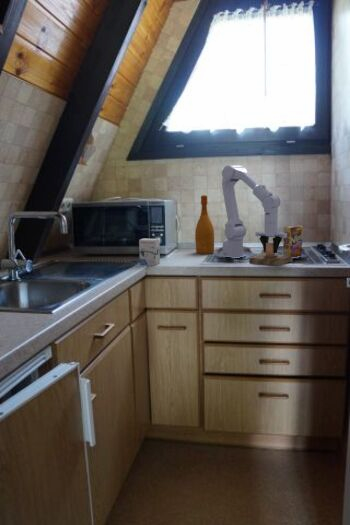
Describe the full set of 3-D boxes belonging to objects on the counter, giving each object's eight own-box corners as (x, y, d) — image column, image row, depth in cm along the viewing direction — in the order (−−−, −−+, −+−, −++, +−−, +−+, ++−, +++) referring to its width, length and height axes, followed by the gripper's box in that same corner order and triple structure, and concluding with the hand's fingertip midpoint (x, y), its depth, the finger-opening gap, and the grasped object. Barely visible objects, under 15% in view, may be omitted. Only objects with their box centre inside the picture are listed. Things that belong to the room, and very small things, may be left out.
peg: (263, 258, 194) (264, 243, 193) (268, 257, 197) (269, 242, 195) (271, 259, 191) (271, 244, 190) (276, 258, 194) (276, 242, 193)
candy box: (289, 260, 197) (290, 227, 194) (282, 259, 201) (282, 226, 198) (302, 257, 202) (303, 225, 199) (295, 256, 206) (295, 225, 203)
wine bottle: (217, 252, 225) (217, 194, 219) (208, 255, 217) (208, 195, 211) (201, 250, 230) (200, 194, 224) (192, 253, 222) (190, 195, 216)
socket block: (249, 263, 193) (249, 257, 193) (263, 258, 204) (263, 253, 204) (278, 266, 185) (278, 260, 185) (291, 260, 196) (291, 255, 195)
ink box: (139, 264, 198) (138, 239, 195) (143, 262, 202) (142, 238, 200) (156, 265, 195) (155, 240, 193) (160, 263, 200) (159, 238, 197)
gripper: (252, 223, 192) (252, 252, 195) (282, 224, 184) (281, 255, 186) (259, 221, 198) (259, 250, 201) (289, 222, 189) (288, 252, 192)
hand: (270, 252), depth 194 cm, fingers closed on peg, 4 cm apart
